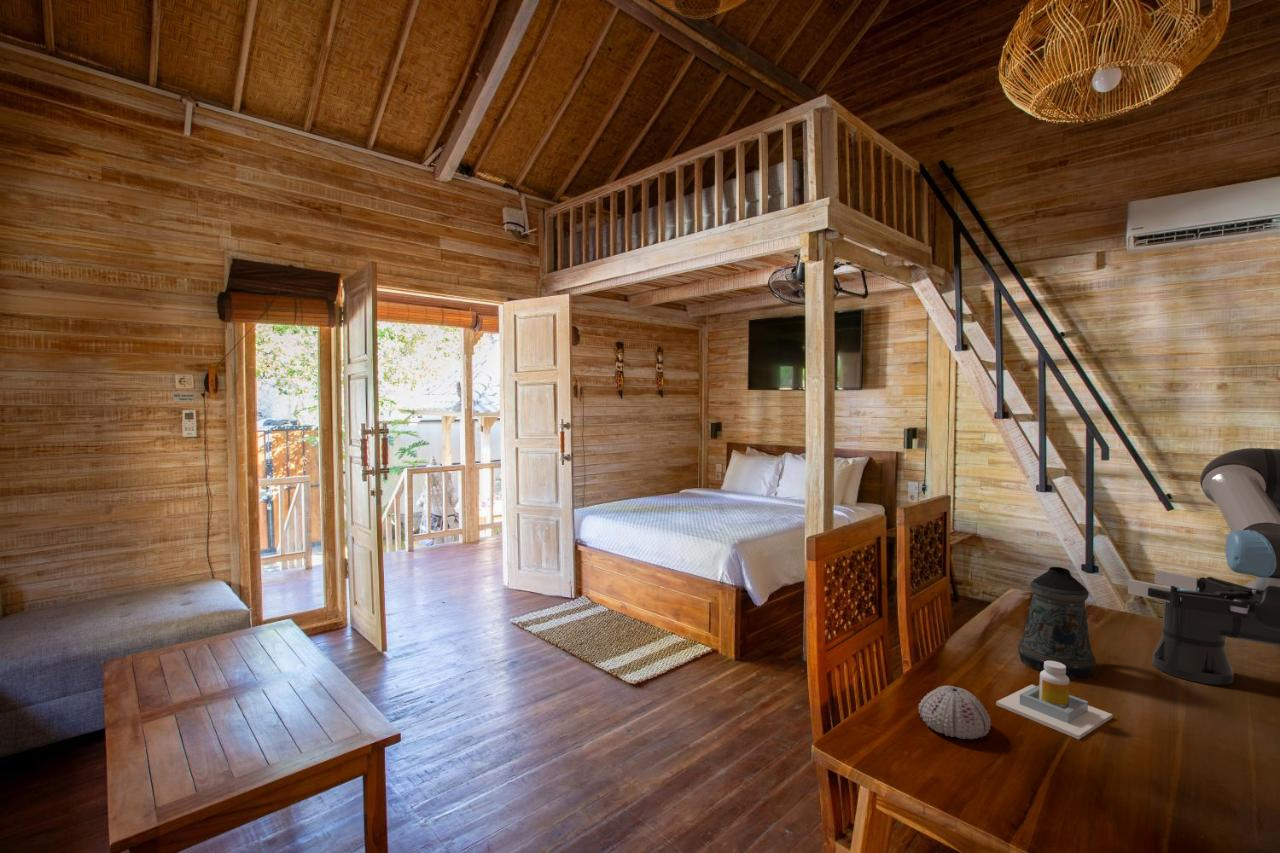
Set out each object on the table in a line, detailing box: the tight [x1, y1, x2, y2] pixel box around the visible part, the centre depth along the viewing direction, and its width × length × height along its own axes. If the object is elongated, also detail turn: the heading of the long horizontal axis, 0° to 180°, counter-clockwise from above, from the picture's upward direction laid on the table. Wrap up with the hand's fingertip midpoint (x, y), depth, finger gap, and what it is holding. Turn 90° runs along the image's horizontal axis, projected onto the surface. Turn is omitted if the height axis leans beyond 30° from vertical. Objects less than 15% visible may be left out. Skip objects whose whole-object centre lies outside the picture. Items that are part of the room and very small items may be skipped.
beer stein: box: [1017, 566, 1097, 680], centre depth 155 cm, size 16×19×25 cm
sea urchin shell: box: [917, 685, 992, 740], centre depth 124 cm, size 13×14×8 cm
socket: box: [995, 684, 1113, 740], centre depth 131 cm, size 16×16×3 cm
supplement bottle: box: [1038, 661, 1071, 709], centre depth 130 cm, size 5×5×10 cm
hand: (1142, 581), depth 120 cm, fingers open, 13 cm apart
